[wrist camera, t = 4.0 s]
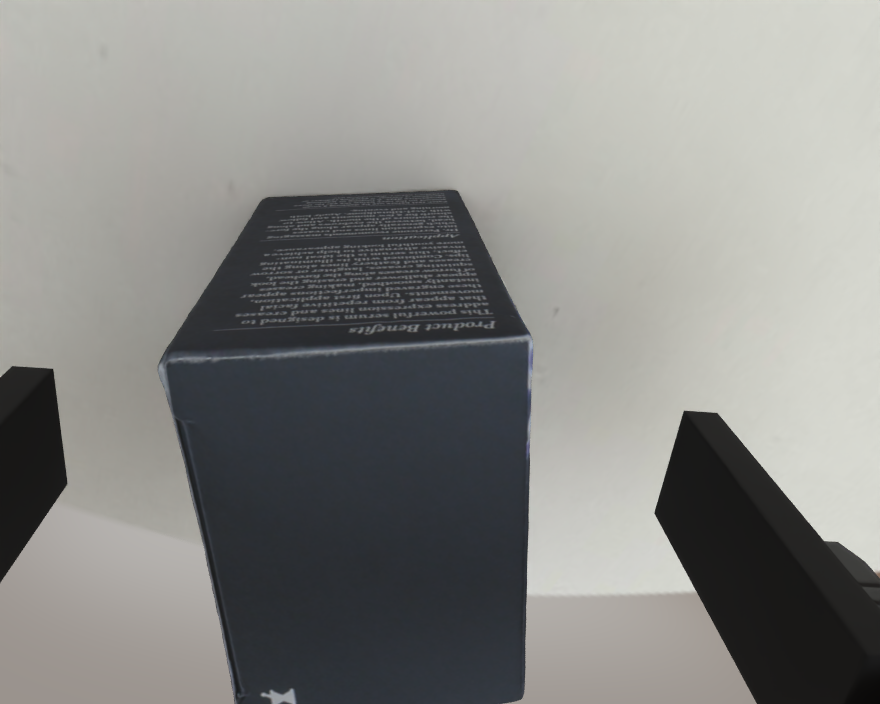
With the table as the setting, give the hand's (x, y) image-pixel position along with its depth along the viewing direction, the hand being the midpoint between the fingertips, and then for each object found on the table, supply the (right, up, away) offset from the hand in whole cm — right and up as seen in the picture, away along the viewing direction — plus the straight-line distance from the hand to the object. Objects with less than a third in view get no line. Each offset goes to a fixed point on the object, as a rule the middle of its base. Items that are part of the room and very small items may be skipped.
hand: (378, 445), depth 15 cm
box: (-1, +3, +6) cm, 7 cm away
